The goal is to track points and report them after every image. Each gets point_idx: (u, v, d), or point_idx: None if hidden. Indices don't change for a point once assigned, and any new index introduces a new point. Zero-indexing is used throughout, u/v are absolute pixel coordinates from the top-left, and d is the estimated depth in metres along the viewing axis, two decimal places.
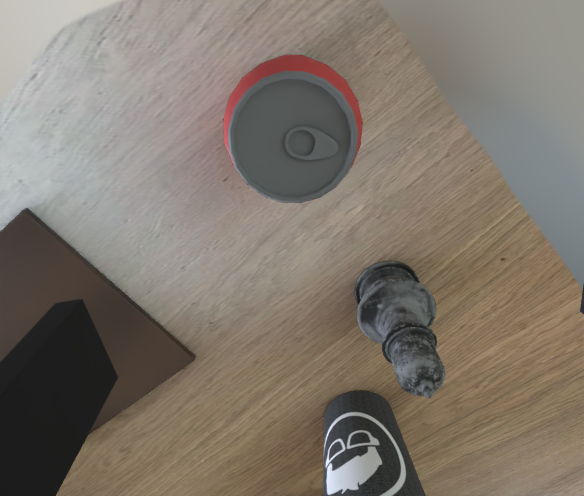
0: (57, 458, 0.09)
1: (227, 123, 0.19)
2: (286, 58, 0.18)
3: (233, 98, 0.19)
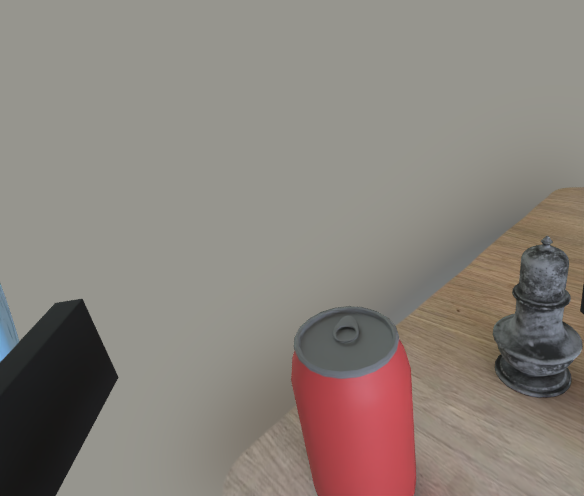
0: (57, 458, 0.09)
1: (340, 392, 0.21)
2: None
3: (320, 394, 0.21)
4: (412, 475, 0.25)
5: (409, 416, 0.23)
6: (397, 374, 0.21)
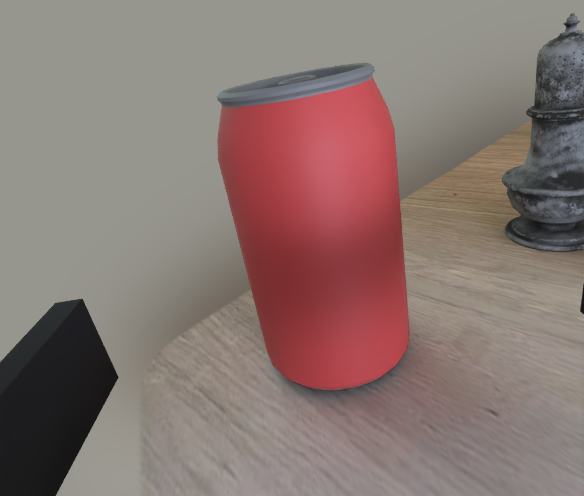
0: (57, 458, 0.09)
1: (282, 124, 0.13)
2: (218, 150, 0.16)
3: (253, 139, 0.13)
4: (403, 313, 0.17)
5: (394, 201, 0.15)
6: (372, 109, 0.14)
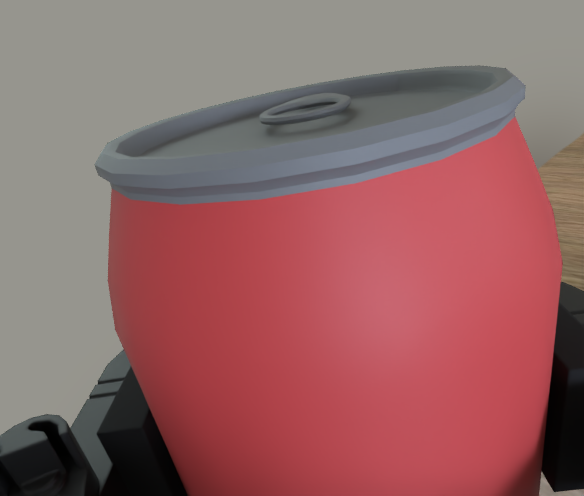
0: None
1: (262, 274, 0.04)
2: None
3: (172, 305, 0.04)
4: None
5: (546, 406, 0.06)
6: (534, 205, 0.05)
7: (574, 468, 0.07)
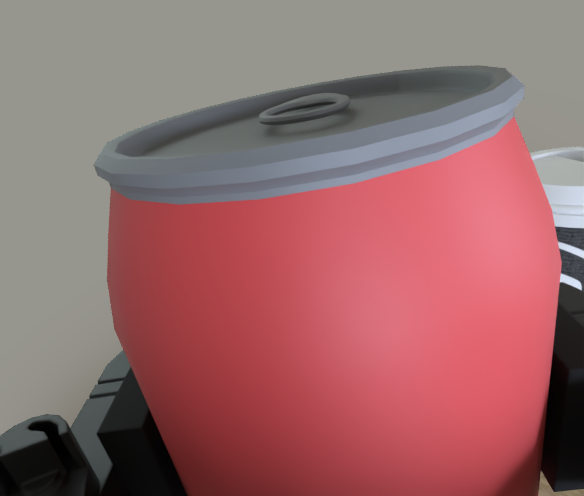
0: None
1: (261, 274, 0.04)
2: None
3: (170, 305, 0.04)
4: None
5: (545, 406, 0.06)
6: (533, 205, 0.05)
7: (574, 468, 0.07)
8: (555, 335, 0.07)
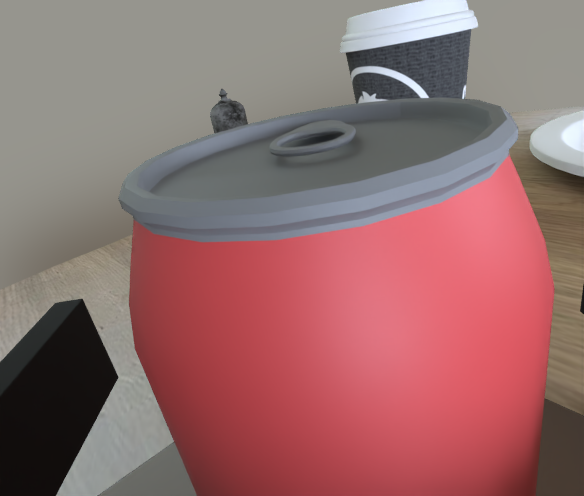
0: (57, 458, 0.09)
1: (277, 307, 0.04)
2: None
3: (193, 333, 0.05)
4: None
5: (541, 421, 0.07)
6: (526, 238, 0.05)
7: None
8: None
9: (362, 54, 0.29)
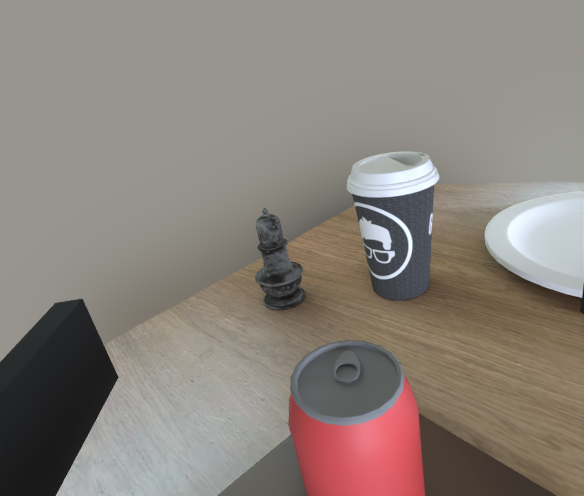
0: (57, 458, 0.09)
1: (343, 440, 0.19)
2: None
3: (321, 443, 0.19)
4: None
5: (418, 460, 0.21)
6: (404, 417, 0.19)
7: None
8: None
9: (362, 196, 0.43)
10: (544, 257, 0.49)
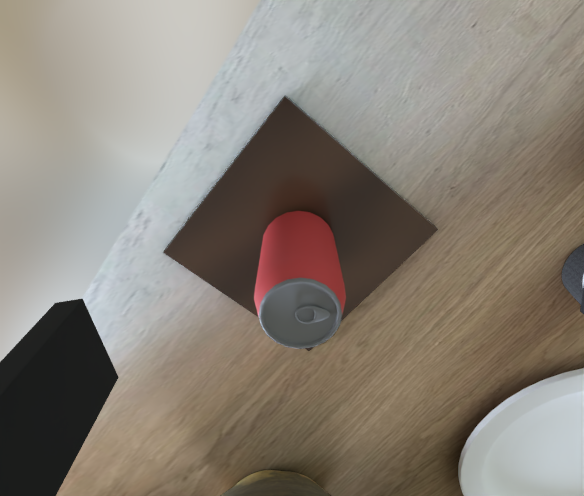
0: (57, 458, 0.09)
1: (257, 307, 0.29)
2: (287, 261, 0.29)
3: (258, 291, 0.29)
4: None
5: None
6: None
7: None
8: None
9: None
10: (581, 400, 0.47)
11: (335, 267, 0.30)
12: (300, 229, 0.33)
